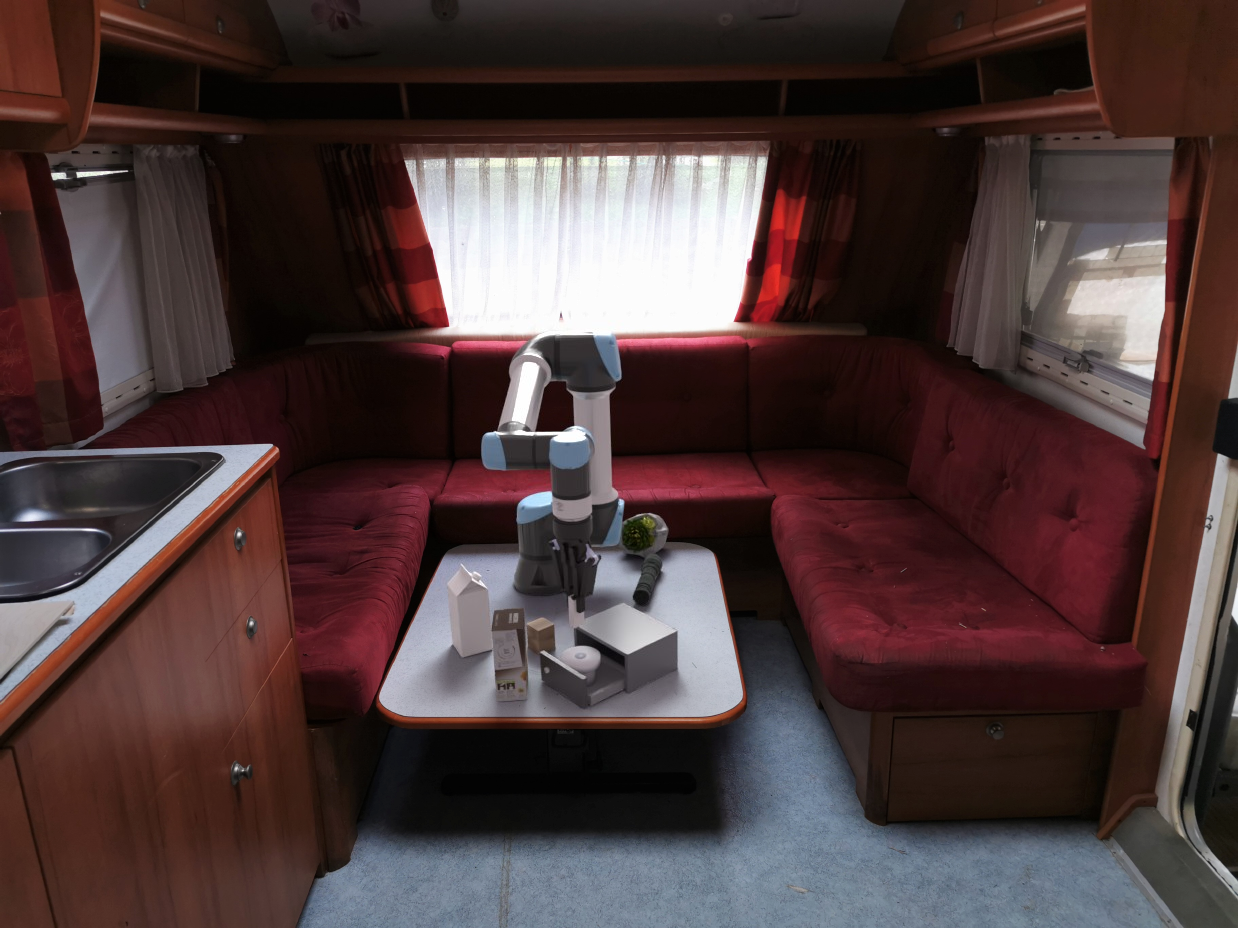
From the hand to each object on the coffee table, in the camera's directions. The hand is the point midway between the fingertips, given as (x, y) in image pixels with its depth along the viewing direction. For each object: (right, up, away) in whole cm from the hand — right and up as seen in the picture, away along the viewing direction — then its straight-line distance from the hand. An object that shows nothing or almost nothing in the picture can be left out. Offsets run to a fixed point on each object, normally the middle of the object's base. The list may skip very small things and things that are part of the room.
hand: (577, 624), depth 180 cm
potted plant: (+15, +7, +66) cm, 68 cm away
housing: (+10, -11, +13) cm, 19 cm away
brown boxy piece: (-9, -9, +20) cm, 24 cm away
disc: (+1, -8, +4) cm, 9 cm away
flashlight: (+16, +1, +48) cm, 50 cm away
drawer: (+2, -13, +6) cm, 14 cm away
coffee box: (-13, -14, +5) cm, 20 cm away
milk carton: (-24, -9, +21) cm, 33 cm away
